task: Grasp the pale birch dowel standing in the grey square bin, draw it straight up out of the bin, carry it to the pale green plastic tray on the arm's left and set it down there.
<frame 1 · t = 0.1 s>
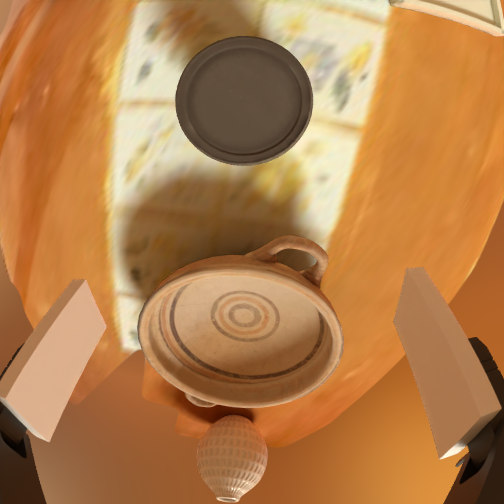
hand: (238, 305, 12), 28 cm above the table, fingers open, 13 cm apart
vase: (236, 420, 67), on the table
ceramic bowl: (244, 307, 48), on the table
coffee can: (253, 97, 33), on the table
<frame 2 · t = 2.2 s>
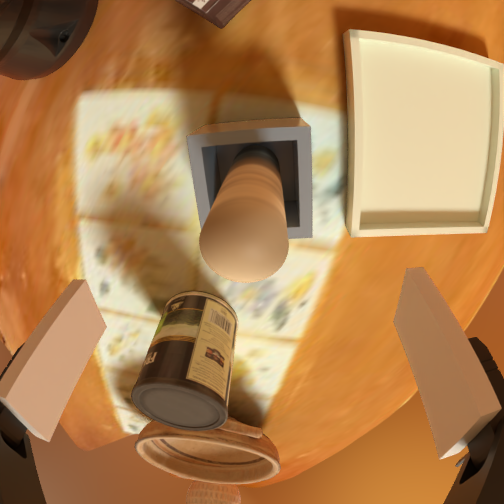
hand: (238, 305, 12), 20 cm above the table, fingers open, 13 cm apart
dowel: (256, 167, 28), point 1 cm above the table, touching grey square bin
vase: (216, 472, 75), on the table
ceramic bowl: (212, 424, 56), on the table
coffee can: (200, 320, 40), on the table
grey square bin: (256, 165, 29), on the table
tray: (428, 137, 26), on the table
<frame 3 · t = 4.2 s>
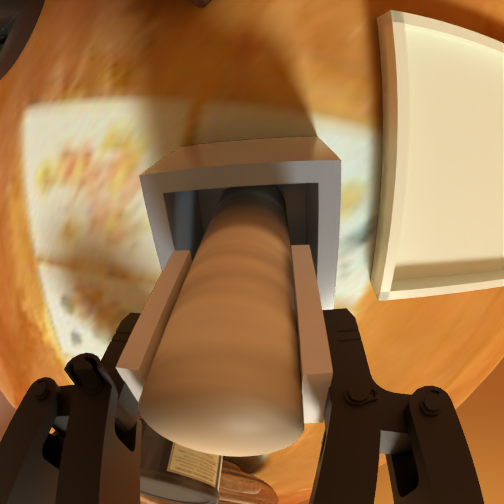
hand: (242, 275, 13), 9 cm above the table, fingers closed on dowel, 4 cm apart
dowel: (252, 209, 20), point 1 cm above the table, touching grey square bin, gripper
ceramic bowl: (207, 465, 47), on the table
coffee can: (188, 378, 32), on the table
grey square bin: (253, 203, 21), on the table
tray: (480, 165, 18), on the table
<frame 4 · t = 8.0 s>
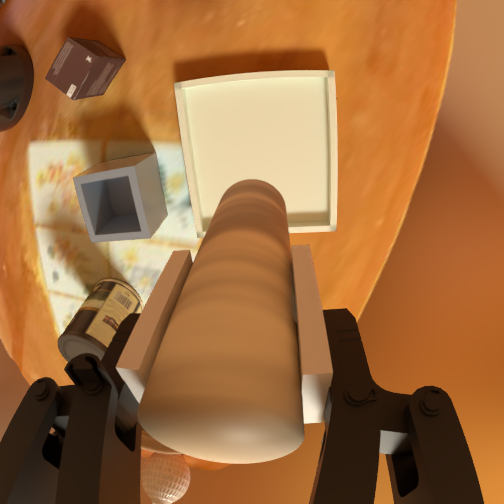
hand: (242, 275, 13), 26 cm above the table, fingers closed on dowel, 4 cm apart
dowel: (252, 211, 20), point 19 cm above the table, touching gripper
vase: (171, 451, 85), on the table
box: (101, 67, 31), on the table
ceramic bowl: (150, 396, 66), on the table
coffee can: (118, 300, 50), on the table
grey square bin: (132, 188, 39), on the table
tray: (261, 152, 36), on the table
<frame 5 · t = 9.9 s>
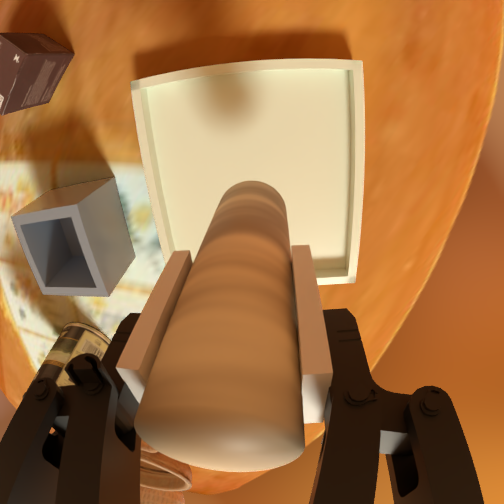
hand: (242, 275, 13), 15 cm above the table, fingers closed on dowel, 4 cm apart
dowel: (252, 213, 20), point 8 cm above the table, touching gripper
vase: (164, 478, 75), on the table
box: (47, 67, 21), on the table
ceramic bowl: (137, 433, 56), on the table
coffee can: (91, 345, 40), on the table
grey square bin: (90, 222, 29), on the table
tray: (255, 176, 26), on the table
when the fingers open (10 cm above the table, at t = 11.7 s): dowel drops 2 cm, resting on tray.
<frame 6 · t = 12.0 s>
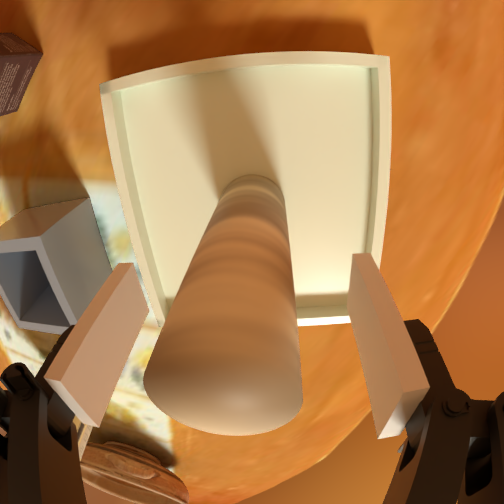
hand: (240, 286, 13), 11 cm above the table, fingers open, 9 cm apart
dowel: (252, 205, 21), point 1 cm above the table, touching tray
box: (15, 70, 16), on the table
ceramic bowl: (132, 453, 51), on the table
coffee can: (79, 371, 36), on the table
grey square bin: (66, 247, 25), on the table
tray: (254, 198, 22), on the table
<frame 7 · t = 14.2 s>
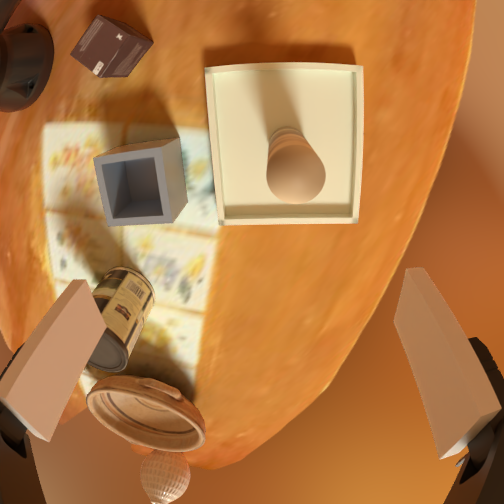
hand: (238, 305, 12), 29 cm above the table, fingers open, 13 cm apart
dowel: (287, 144, 35), point 1 cm above the table, touching tray
vase: (171, 449, 84), on the table
box: (126, 49, 30), on the table
ceramic bowl: (154, 392, 65), on the table
coffee can: (129, 291, 50), on the table
grey square bin: (152, 173, 39), on the table
tray: (287, 142, 36), on the table
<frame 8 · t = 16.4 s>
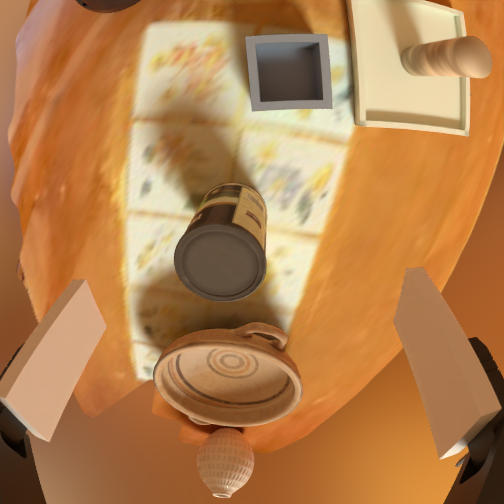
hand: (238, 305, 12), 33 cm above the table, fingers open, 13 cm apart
dowel: (414, 61, 30), point 1 cm above the table, touching tray
vase: (229, 431, 80), on the table
ceramic bowl: (232, 354, 61), on the table
coffee can: (233, 214, 45), on the table
grey square bin: (286, 74, 35), on the table
tray: (411, 61, 31), on the table
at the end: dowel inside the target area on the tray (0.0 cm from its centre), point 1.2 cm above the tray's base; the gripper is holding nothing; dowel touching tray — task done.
